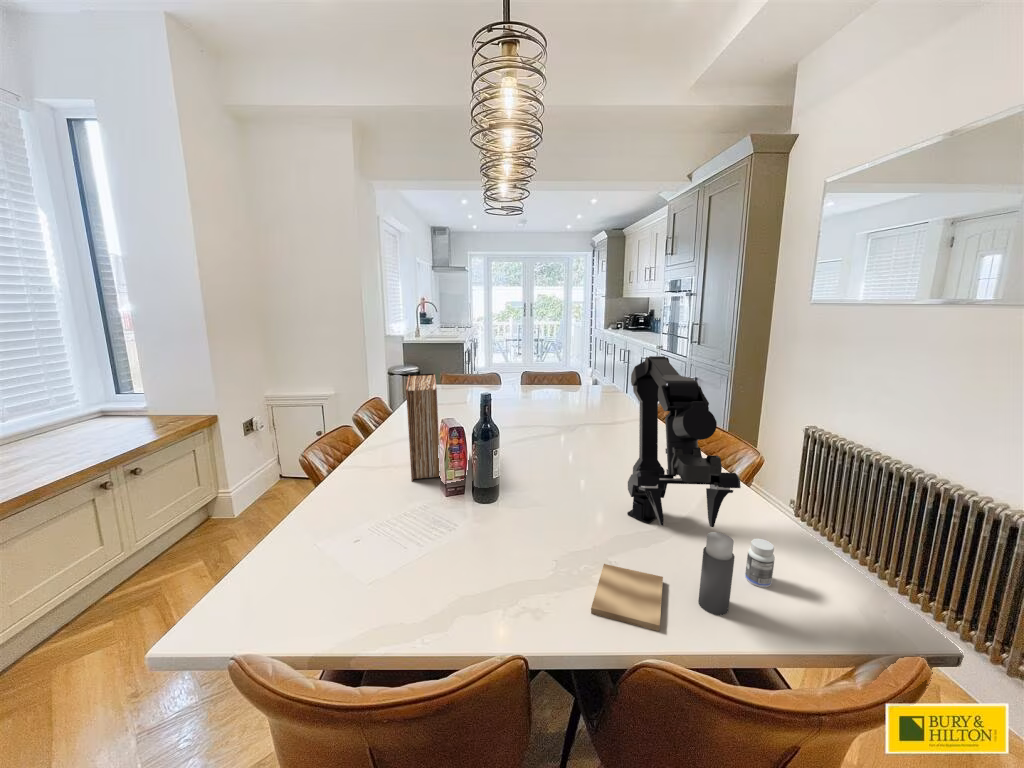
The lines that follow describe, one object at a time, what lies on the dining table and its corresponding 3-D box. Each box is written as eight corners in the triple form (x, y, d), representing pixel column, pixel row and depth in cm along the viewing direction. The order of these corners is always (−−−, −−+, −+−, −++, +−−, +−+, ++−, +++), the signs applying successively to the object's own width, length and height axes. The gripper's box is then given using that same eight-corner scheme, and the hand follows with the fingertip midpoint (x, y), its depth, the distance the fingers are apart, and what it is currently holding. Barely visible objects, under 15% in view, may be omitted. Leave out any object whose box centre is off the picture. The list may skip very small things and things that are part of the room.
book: (440, 479, 136) (436, 387, 130) (411, 481, 135) (405, 389, 128) (438, 451, 161) (434, 373, 154) (413, 453, 159) (408, 374, 153)
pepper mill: (705, 591, 84) (712, 527, 81) (733, 605, 80) (741, 539, 78) (693, 604, 81) (699, 538, 78) (721, 619, 77) (729, 550, 74)
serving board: (603, 568, 91) (603, 563, 91) (662, 581, 87) (662, 576, 87) (590, 613, 79) (591, 607, 78) (659, 631, 74) (659, 625, 74)
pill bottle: (747, 570, 91) (751, 534, 89) (773, 579, 88) (778, 542, 86) (742, 581, 87) (747, 544, 85) (768, 591, 84) (774, 553, 83)
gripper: (643, 439, 76) (646, 531, 73) (751, 441, 75) (759, 534, 72) (630, 443, 87) (632, 522, 84) (724, 444, 86) (730, 525, 83)
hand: (686, 526), depth 80 cm, fingers open, 9 cm apart
